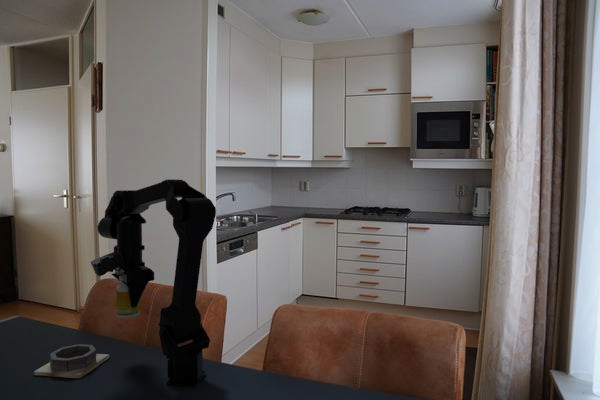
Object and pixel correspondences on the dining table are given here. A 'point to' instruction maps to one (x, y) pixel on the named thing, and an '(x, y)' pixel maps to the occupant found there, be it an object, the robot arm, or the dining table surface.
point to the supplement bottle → (125, 302)
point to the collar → (72, 361)
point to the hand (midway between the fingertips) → (130, 304)
